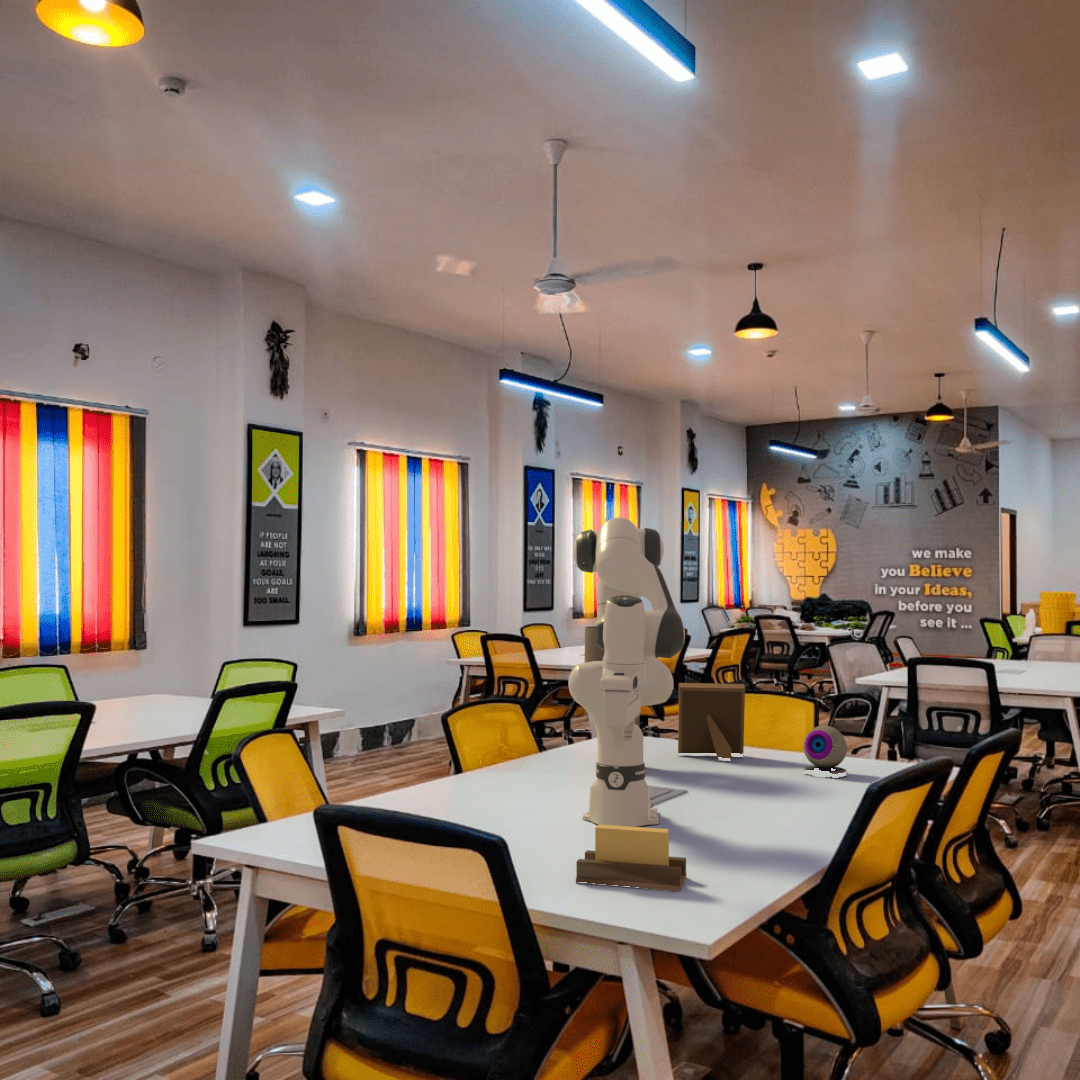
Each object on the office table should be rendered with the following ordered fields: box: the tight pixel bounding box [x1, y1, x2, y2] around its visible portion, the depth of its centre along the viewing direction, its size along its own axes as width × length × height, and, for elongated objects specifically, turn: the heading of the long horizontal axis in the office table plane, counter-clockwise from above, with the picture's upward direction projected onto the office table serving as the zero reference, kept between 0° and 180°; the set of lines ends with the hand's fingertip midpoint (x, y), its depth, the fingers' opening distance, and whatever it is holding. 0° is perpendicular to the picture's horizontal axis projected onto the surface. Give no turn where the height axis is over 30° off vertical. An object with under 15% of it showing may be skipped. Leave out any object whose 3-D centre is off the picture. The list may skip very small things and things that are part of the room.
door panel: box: [594, 824, 670, 866], centre depth 204 cm, size 3×14×9 cm, turn 75°
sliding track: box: [575, 849, 687, 892], centre depth 204 cm, size 10×20×4 cm, turn 75°
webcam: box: [803, 725, 848, 774], centre depth 323 cm, size 13×13×15 cm
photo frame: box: [677, 682, 746, 759], centre depth 352 cm, size 15×22×25 cm
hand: (623, 744), depth 212 cm, fingers open, 8 cm apart
